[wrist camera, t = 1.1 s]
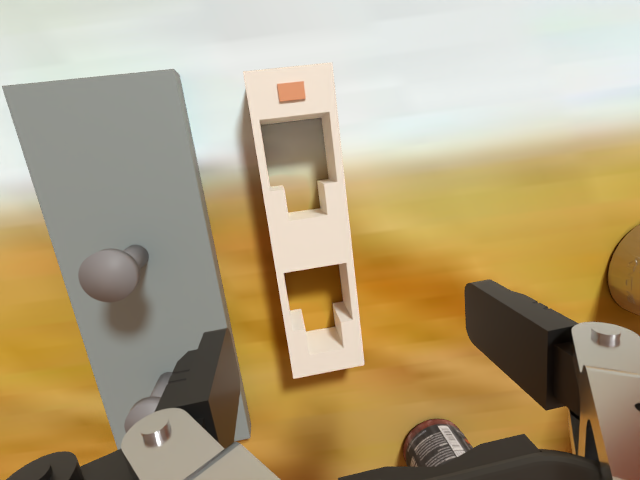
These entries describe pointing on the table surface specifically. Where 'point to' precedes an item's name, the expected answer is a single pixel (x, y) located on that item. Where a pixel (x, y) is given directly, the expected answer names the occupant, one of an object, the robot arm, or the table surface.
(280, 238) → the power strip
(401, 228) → the table surface
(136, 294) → the board
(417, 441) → the supplement bottle
